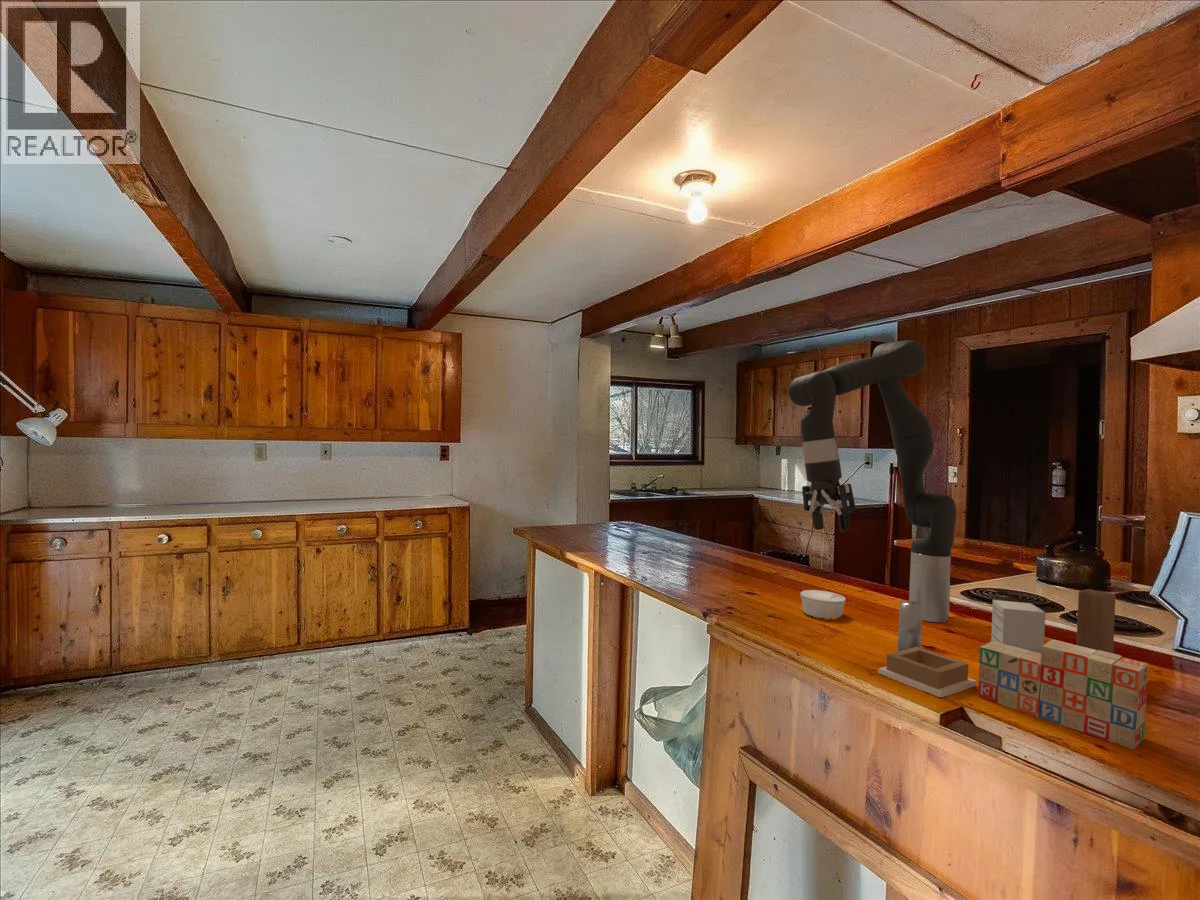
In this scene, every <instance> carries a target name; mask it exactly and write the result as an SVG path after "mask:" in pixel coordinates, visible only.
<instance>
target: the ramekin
mask: <svg viewBox="0 0 1200 900" xmlns="http://www.w3.org/2000/svg"><path fill="white" fill-rule="evenodd" d="M799 596H800V598H801V605H802V611H803V613H804V614H805V613H806V614H805V615H807V614H808V615H810V616H809V617H811V616H813V617H812V618H814V617H818V618H817V619H819V618H828V619H832V618H838V619H840V618H841V617H842V615H843V611H844V607H845V604H846V597H845V596H844V595H841V594H839V593H835V592H831V591H826V590H818V589H808V590H806V589H805V590H803V591H801V592H800V595H799ZM808 615H807V616H808ZM839 617H840V618H839ZM828 619H827V620H828Z"/></svg>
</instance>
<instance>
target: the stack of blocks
mask: <svg viewBox="0 0 1200 900" xmlns="http://www.w3.org/2000/svg"><path fill="white" fill-rule="evenodd" d="M978 655H979V656H978V657H979V658H978V662H979V665H978V679H977V680H978V687H977V696H978V697H980V698H982V699H985V700H988V701H991V702H993V703H997V704H1000V706H1001V705H1002V706H1004V707H1008V708H1010V709H1013V710H1017V711H1020V712H1022V713H1023V714H1024V713H1025V714H1029V715H1031V716H1033V717H1037V718H1040V719H1043V720H1046V721H1048V722H1052V723H1054V724H1058V725H1061V726H1064V727H1067V728H1069V727H1070V729H1072V728H1074V729H1073V730H1075V729H1078V730H1080V731H1079V732H1081V731H1083V732H1082V733H1084V732H1086V733H1089V734H1092V735H1095V736H1097V737H1096V738H1098V737H1100V738H1099V739H1101V738H1103V739H1102V740H1104V739H1106V740H1105V741H1107V740H1109V741H1108V742H1110V741H1112V742H1115V743H1118V744H1120V745H1119V746H1121V745H1123V746H1122V747H1124V746H1125V748H1127V747H1128V748H1127V749H1130V748H1131V749H1130V750H1133V749H1134V750H1133V751H1135V750H1136V749H1138V747H1139V746H1140V744H1141V743H1142V742H1143V741H1144V740H1145V737H1146V736H1145V733H1146V716H1147V715H1146V714H1147V701H1148V691H1149V690H1148V688H1149V682H1148V680H1149V677H1148V676H1149V662H1143V661H1140V660H1135V659H1132V658H1128V657H1123V656H1122V655H1120V654H1116V653H1114V654H1113V653H1109V652H1105V651H1101V650H1098V651H1097V650H1094V649H1090V648H1086V647H1082V646H1078V645H1076V644H1073V643H1069V642H1065V641H1061V640H1056V639H1051V640H1049V641H1048V642H1046V643H1044V645H1042V647H1041V654H1040V653H1036V652H1032V651H1029V650H1025V649H1022V648H1018V647H1014V646H1010V645H1006V644H1003V643H999V642H995V641H992V642H991V641H990V642H987V643H985V644H984V645H981V646H979V654H978ZM1078 730H1077V731H1078ZM1086 733H1085V734H1086ZM1089 734H1088V735H1089ZM1092 735H1091V736H1092ZM1095 736H1094V737H1095ZM1112 742H1111V743H1112ZM1115 743H1114V744H1115ZM1118 744H1117V745H1118Z"/></svg>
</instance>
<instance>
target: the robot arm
mask: <svg viewBox="0 0 1200 900" xmlns="http://www.w3.org/2000/svg"><path fill="white" fill-rule="evenodd" d="M926 361H927V355H926V350H925V348H924V347H923V345H922V344H921V343H919V342H918V341H916V340H911V339H910V340H909V339H907V340H905V339H904V340H898V341H893V342H886V343H882V344H881V343H880V344H879V345H877V346H876V347H875V348H874V349H873V352H872V355H871V357H869V356H868V357H864V358H859V359H854V360H850V361H846V362H843V363H840V364H837V365H834V366H830V367H829V368H827V369H824V370H822V371H814V372H813V373H807V374H806V375H805V374H804V375H802V376H798V377H797V378H795V379H794V380H792V381H791V383H790V384H789V387H788V390H787V393H788V397H789V399H790V401H791V402H792V403H793V404H795V405H797V406H799V407H806V406H807V407H808V406H810V412H809V414H808V415H806V416H804V417H803V418H801V420H800V431H801V432H800V433H801V437H802V438H801V439H802V455H803V461H804V469H805V477H806V480H807V482H809V483H811V484H808V485H804V486H803V485H802V487H801V491H802V492H801V493H802V499H803V501H802V502H803V509H804V511H806V512H809V514H811V518H812V520H811V521H812V524H813V529H814V530H816V531H818V530H823V529H825V527H824V526H825V525H824V519H823V518H824V517H823V513H822V510H823V507H824V506H825V505H829V506H830V507H831V508H833V509H834V510H835V512H836V513H837V520H838V521H837V522H838V526H839V531H840V532H841V533H842V532H849V531H850V530H851V523H850V514H851V513H852V512H854V511H856V503H855V498H854V493H853V489H852V488H853V487H852V484H851V483H844V484H841V483H840V479H842V477H843V474H842V468H841V467H842V466H841V462H840V454H839V448H838V445H837V441H836V434H835V427H834V423H833V421H834V420H833V419H834V413H835V405H836V397H837V396H841V395H845V394H847V393H848V394H849V393H850V392H853V391H856V390H859V389H862V388H864V387H867V386H870V385H873V384H876V383H877V386H878V389H879V392H880V394H881V397H882V399H883V403H884V408H885V411H886V414H887V419H888V422H889V423H888V424H889V429H890V434H891V439H892V442H893V447H894V450H895V454H896V458H897V464H898V468H899V469H898V470H899V473H900V479H901V480H900V481H901V486H902V497H903V504H904V512H905V515H906V518H907V519H908V522H909V523H910V524H912V525H914V526H916V527H921V528H927V529H930V531H929V534H928V536H926V537H924V538H921V539H915V540H913V541H912V542H911V544H910V545H911V547H910V572H909V574H910V575H909V588H908V589H909V591H908V601H914V602H918V603H921V604H922V605H923V611H922V621H923V622H924V621H925V622H931V623H945V622H944V621H947V620H948V621H949V618H950V601H951V600H950V598H951V582H950V581H951V580H950V579H951V557H952V549H953V546H954V541H955V532H956V531H955V530H956V529H955V528H956V520H957V505H956V502H955V500H954V499H953V497H951V496H950V495H947V494H938V493H929V492H926V490H925V486H924V479H923V478H924V472H925V470H926V467H927V465H928V464H929V462H930V459H931V457H932V455H933V453H934V449H935V441H934V437H933V432H932V427H931V423H930V421H929V420H928V417H927V416H926V415H925V413H924V412H923V411H922V410H921V409H920V408H919V407H918V406H917V405H916V403H915V402H914V401H913V400H912V399H911V398H910V397H909V395H908V394H907V392H906V390H905V387H904V384H903V382H902V378H910V377H913V376H916V375H918V374H919V373H920V372H921V371H923V369H924V367H925V365H926ZM809 503H810V504H809ZM848 504H849V505H848ZM948 617H949V618H948ZM948 621H947V622H948Z"/></svg>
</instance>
